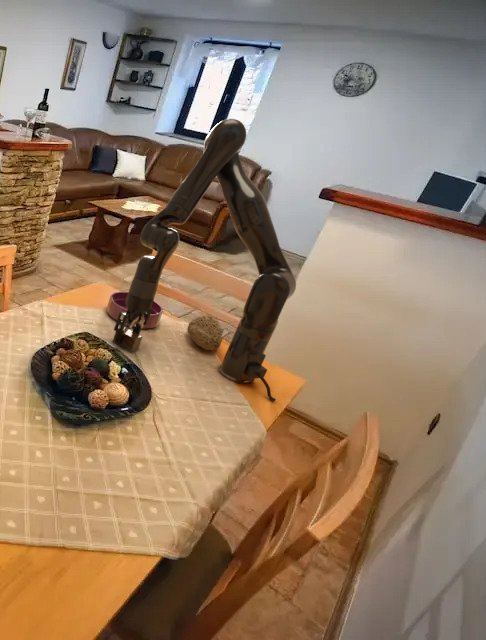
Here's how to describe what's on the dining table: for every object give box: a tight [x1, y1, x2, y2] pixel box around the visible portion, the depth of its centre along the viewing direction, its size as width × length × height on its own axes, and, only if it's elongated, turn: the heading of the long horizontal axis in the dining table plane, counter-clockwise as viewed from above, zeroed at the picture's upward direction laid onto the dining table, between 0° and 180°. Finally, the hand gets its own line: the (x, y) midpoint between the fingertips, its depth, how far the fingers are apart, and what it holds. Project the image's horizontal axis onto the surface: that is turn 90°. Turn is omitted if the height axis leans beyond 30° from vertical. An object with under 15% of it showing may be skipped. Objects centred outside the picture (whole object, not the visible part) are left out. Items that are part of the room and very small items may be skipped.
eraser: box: [112, 327, 143, 353], centre depth 153 cm, size 7×4×4 cm, turn 44°
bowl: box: [106, 291, 164, 329], centre depth 173 cm, size 18×18×6 cm
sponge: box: [187, 314, 225, 351], centre depth 166 cm, size 13×8×20 cm
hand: (126, 340), depth 153 cm, fingers open, 8 cm apart
